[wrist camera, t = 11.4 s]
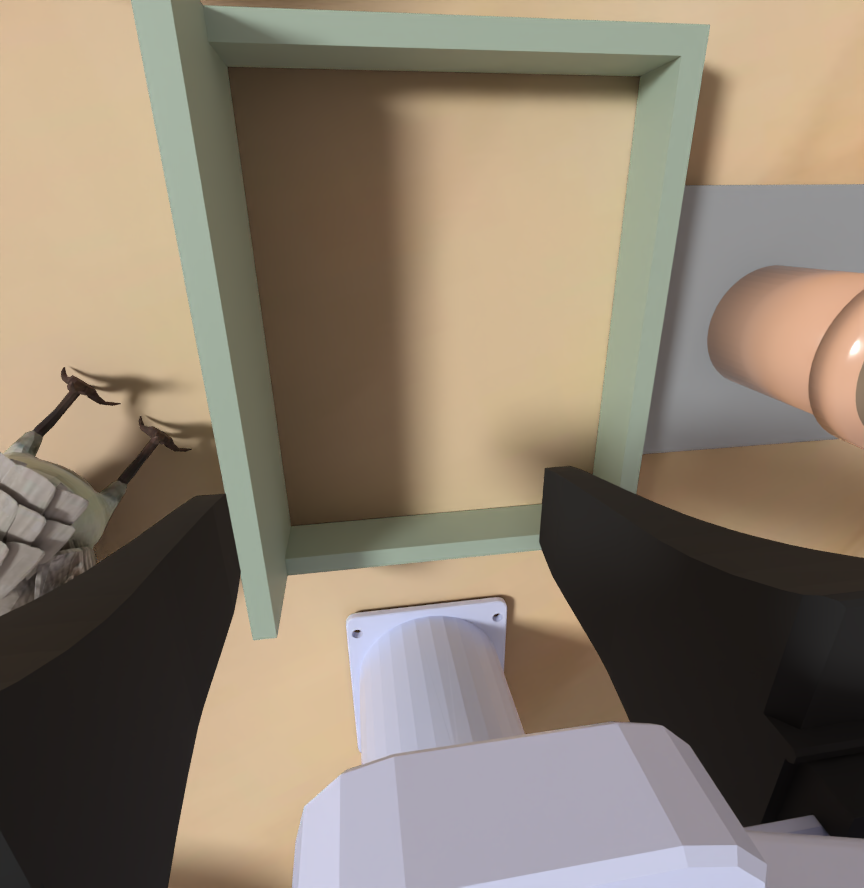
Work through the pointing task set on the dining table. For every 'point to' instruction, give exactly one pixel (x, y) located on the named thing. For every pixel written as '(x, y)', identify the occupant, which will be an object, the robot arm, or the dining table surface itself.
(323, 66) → the frame
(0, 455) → the decorative bird
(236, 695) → the dining table surface
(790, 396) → the terracotta pot
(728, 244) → the slate mat
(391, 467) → the dining table surface
